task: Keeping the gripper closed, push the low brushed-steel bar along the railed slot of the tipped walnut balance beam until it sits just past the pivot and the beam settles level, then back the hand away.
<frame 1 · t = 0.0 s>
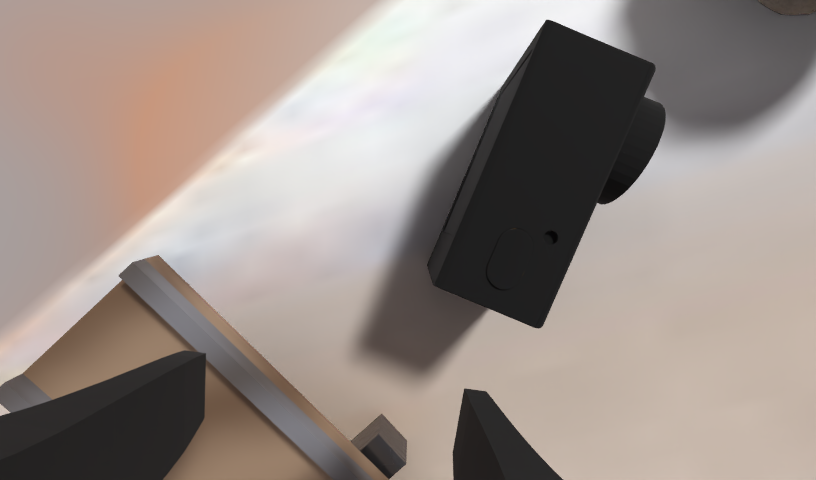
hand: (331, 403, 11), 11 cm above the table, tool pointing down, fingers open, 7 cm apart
digital camera: (510, 196, 22), on the table
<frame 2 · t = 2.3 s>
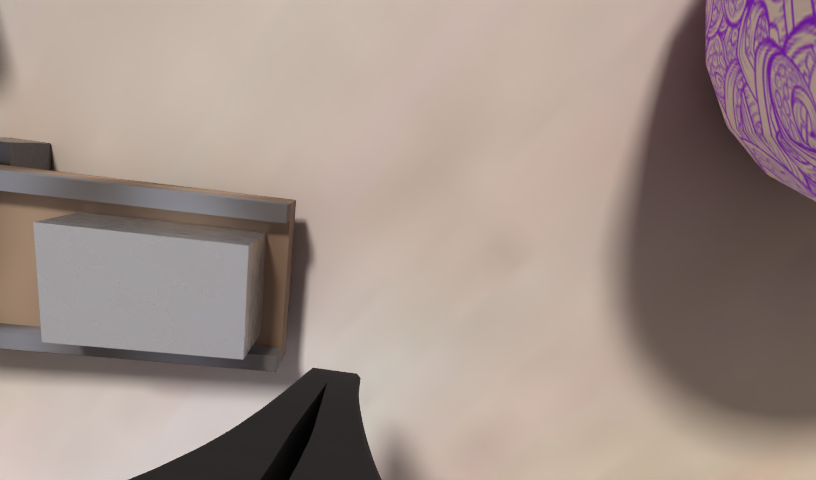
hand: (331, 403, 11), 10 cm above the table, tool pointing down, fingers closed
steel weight: (175, 275, 19), point 3 cm above the table, tilted 5°, touching beam
pivot stand: (37, 237, 21), on the table
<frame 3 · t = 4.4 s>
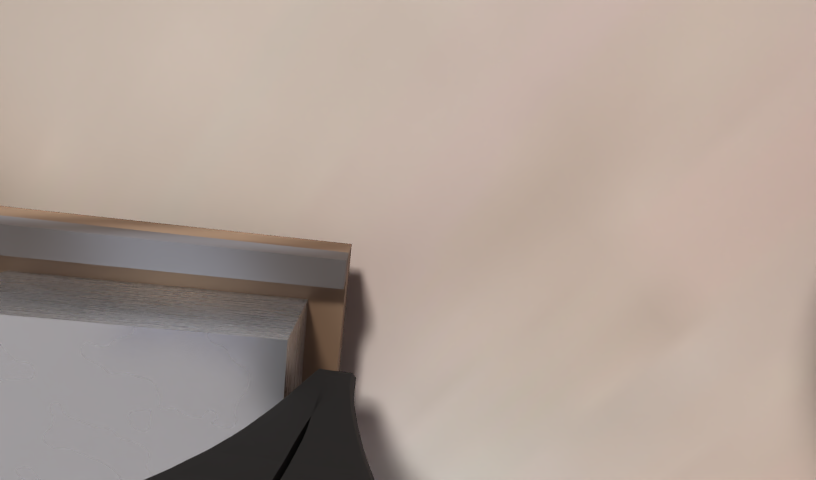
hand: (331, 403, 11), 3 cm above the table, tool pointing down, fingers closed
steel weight: (162, 366, 12), point 3 cm above the table, tilted 5°, touching beam, gripper
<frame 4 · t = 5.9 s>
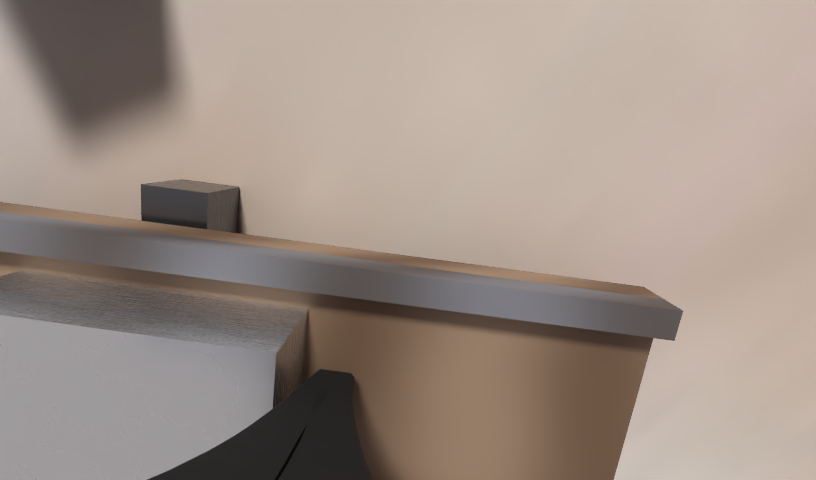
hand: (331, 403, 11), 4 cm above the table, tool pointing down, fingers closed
beam: (147, 366, 12), point 3 cm above the table, hinge at 0.1°, touching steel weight
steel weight: (165, 370, 12), point 4 cm above the table, touching beam, gripper
pivot stand: (207, 316, 15), on the table
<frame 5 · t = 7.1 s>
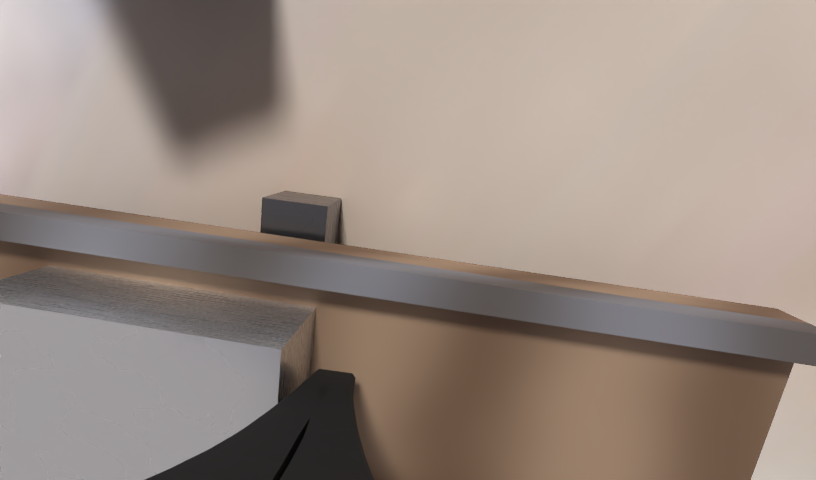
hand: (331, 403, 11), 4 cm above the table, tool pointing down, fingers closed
beam: (269, 376, 12), point 3 cm above the table, hinge at 3.0°, touching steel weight
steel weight: (179, 364, 12), point 3 cm above the table, touching beam, gripper
pivot stand: (302, 325, 15), on the table
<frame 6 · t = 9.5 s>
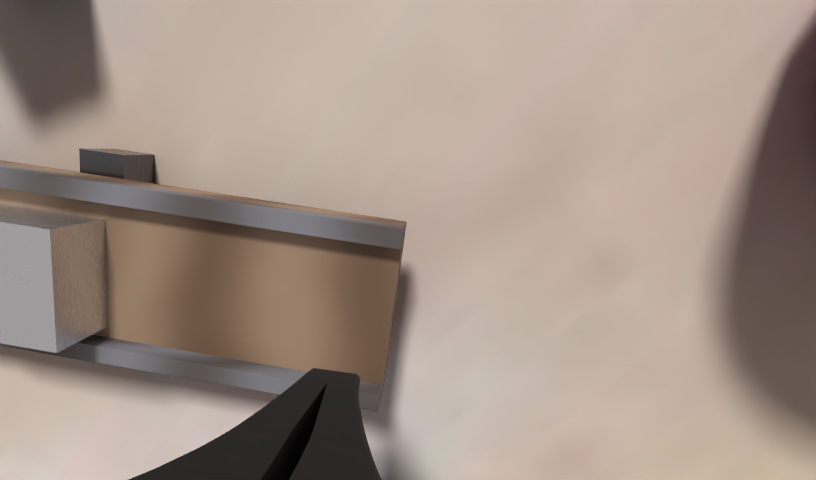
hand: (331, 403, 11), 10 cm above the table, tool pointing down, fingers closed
beam: (81, 268, 18), point 3 cm above the table, hinge at 2.6°, touching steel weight
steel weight: (21, 260, 18), point 3 cm above the table, touching beam
pivot stand: (134, 248, 21), on the table
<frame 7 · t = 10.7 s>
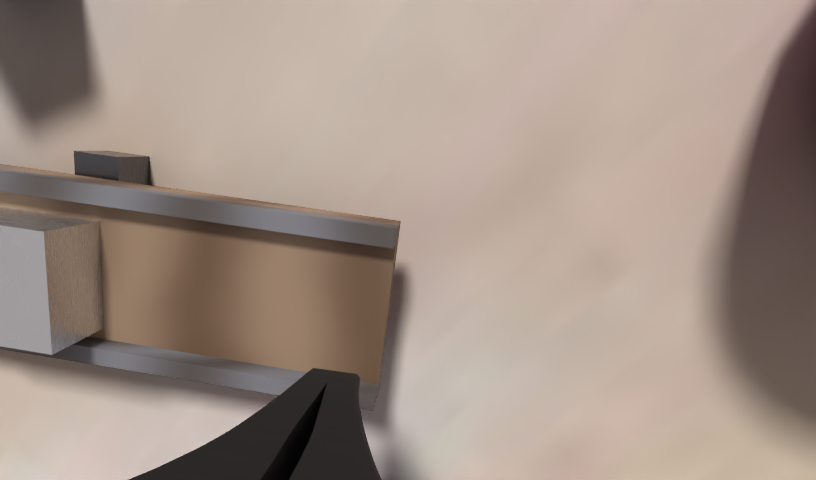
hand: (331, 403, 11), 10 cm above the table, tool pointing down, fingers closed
beam: (76, 270, 18), point 3 cm above the table, hinge at 2.6°, touching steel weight
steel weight: (16, 263, 18), point 3 cm above the table, touching beam
pivot stand: (130, 250, 21), on the table
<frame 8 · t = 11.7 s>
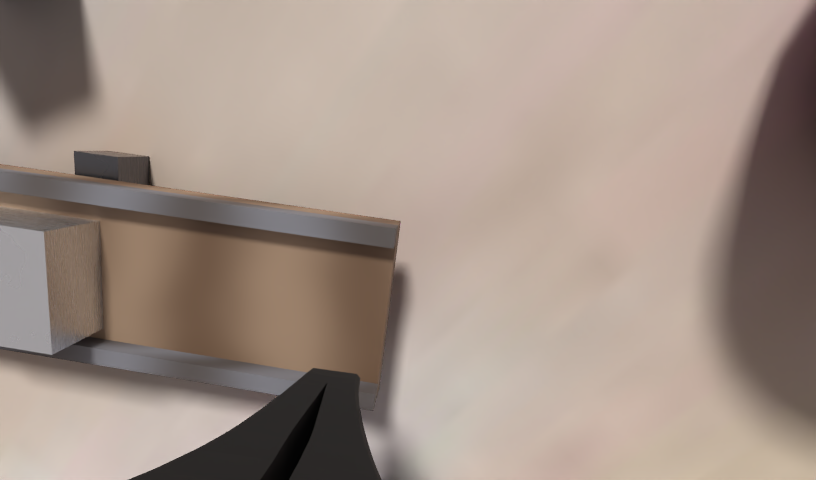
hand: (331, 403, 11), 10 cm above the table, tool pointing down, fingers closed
beam: (76, 270, 18), point 3 cm above the table, hinge at 2.6°, touching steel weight
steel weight: (16, 263, 18), point 3 cm above the table, touching beam
pivot stand: (130, 250, 21), on the table
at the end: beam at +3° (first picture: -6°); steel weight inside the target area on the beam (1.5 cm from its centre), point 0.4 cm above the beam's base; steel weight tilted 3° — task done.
